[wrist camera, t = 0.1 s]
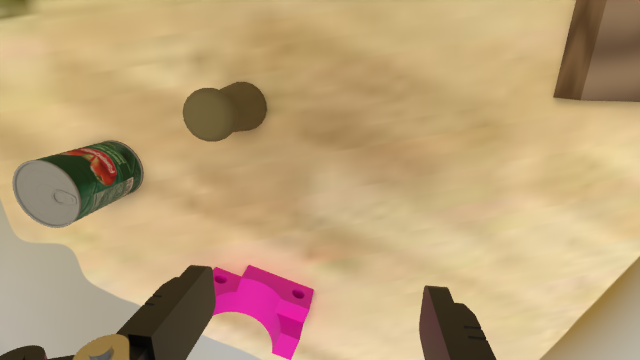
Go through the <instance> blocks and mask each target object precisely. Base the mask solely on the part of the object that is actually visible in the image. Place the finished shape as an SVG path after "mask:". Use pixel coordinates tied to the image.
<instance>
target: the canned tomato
mask: <svg viewBox="0 0 640 360" xmlns="http://www.w3.org/2000/svg"><path fill="white" fill-rule="evenodd" d="M142 179H143V169H142V165H141V162H140V160H139V158H138V156H137V155H136V154H135V153H134V151H133V150H131V149H130V148H129V147H128V146H126V145H125V144H123V143H120V142H117V141H104V142H102V143H98V144H94V145H90V146H86V147H83V148H78V149H74V150H71V151H67V152H63V153H60V154H55V155H51V156H48V157H43V158H40V159H37V160H32V161H27V162H25V163H23V164H21V165H20V166H19V167H18V168H17V170H16V171H15V173H14V176H13V191H14V194H15V197H16V199H17V201H18V203H19V205H20V206H21V208H22V209H23V210H24V211H25V212H26V214H27V215H29V216H30V217H31V218H32V219H34V220H35V221H37V222H38V223H40V224H43V225H45V226H48V227H54V228H60V227H65V226H68V225H70V224H71V223H73V222H75V221H77V220H79V219H81V218H83V217H84V216H87V215H88V214H90V213H93V212H94V211H96V210H98V209H100V208H102V207H104V206H106V205H108V204H110V203H112V202H114V201H116V200H118V199H120V198H121V197H124V196H126V195H127V194H129V193H132V192H134V191H135V190H137V189H138V187H139V186H140V184H141V182H142Z"/></svg>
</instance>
